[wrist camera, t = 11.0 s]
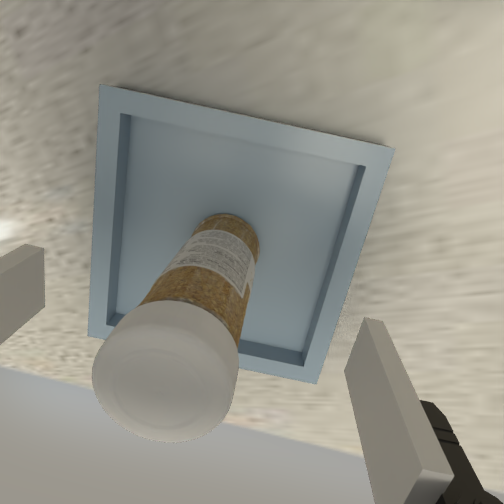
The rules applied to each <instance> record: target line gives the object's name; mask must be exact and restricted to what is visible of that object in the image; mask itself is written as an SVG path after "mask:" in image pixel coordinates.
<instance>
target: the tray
mask: <svg viewBox="0 0 504 504" xmlns="http://www.w3.org/2000/svg"><path fill="white" fill-rule="evenodd" d="M394 152H395V149H394V148H391V147H388V146H385V145H380V144H376V143H371V142H367V141H362V140H358V139H353V138H348V137H344V136H339V135H335V134H330V133H326V132H321V131H316V130H312V129H307V128H303V127H298V126H294V125H289V124H284V123H280V122H275V121H271V120H266V119H262V118H257V117H252V116H248V115H243V114H239V113H234V112H230V111H225V110H221V109H216V108H211V107H207V106H202V105H198V104H193V103H189V102H184V101H179V100H175V99H170V98H166V97H161V96H157V95H152V94H147V93H143V92H138V91H134V90H129V89H125V88H120V87H115V86H109V85H102V84H100V88H99V109H98V130H97V151H96V172H95V193H94V214H93V235H92V256H91V277H90V298H89V318H88V336H90V337H94V338H99V339H104V340H106V339H107V337H108V336H109V335H110V333H111V332H112V331H113V329H114V328H115V327H116V325H117V324H118V323H119V322H120V320H121V319H122V318H123V317H124V316H125V315H126V314H127V313H129V312H130V311H131V310H133V309H135V308H136V307H137V306H138V305H139V304H140V303H141V302H142V301H143V299H144V298H145V297H146V295H147V294H148V293H149V291H150V289H151V287H152V285H153V284H154V282H155V281H156V279H157V278H158V277H159V276H160V274H161V273H162V272H163V271H164V270H165V268H166V267H167V266H168V264H169V263H170V262H171V260H172V259H173V258H174V257H175V255H176V254H177V253H178V252H179V250H180V249H181V248H182V246H183V245H184V244H185V243H186V241H188V240H189V239H190V238H191V237H192V234H193V232H194V230H195V228H196V227H197V226H198V225H199V224H200V223H201V222H202V221H203V220H204V219H206V218H208V217H210V216H213V215H217V214H229V215H234V216H237V217H239V218H241V219H242V220H244V221H245V222H246V223H248V224H249V225H250V226H251V227H252V229H253V230H254V231H255V233H256V235H257V238H258V241H259V248H260V253H259V258H258V261H257V263H256V265H255V275H254V280H253V286H252V290H251V295H250V299H249V302H248V304H247V308H246V315H245V318H244V323H243V327H242V332H241V337H240V340H239V344H238V349H237V350H238V356H239V368H241V369H246V370H250V371H255V372H260V373H264V374H269V375H274V376H279V377H283V378H288V379H293V380H298V381H302V382H307V383H312V384H317V381H318V378H319V375H320V372H321V369H322V366H323V363H324V360H325V357H326V354H327V351H328V348H329V345H330V342H331V339H332V336H333V333H334V330H335V327H336V324H337V321H338V318H339V315H340V313H341V310H342V307H343V304H344V301H345V298H346V295H347V292H348V289H349V286H350V283H351V280H352V277H353V274H354V271H355V268H356V265H357V262H358V259H359V256H360V253H361V250H362V247H363V244H364V241H365V238H366V235H367V232H368V229H369V226H370V223H371V220H372V217H373V214H374V211H375V208H376V205H377V202H378V199H379V196H380V193H381V190H382V187H383V184H384V181H385V178H386V175H387V172H388V169H389V166H390V164H391V161H392V158H393V155H394Z"/></svg>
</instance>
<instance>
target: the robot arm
mask: <svg viewBox="0 0 504 504" xmlns="http://www.w3.org/2000/svg"><path fill="white" fill-rule="evenodd" d="M44 307H45V281H44V248H41V247H37V246H32V245H28V244H24V245H22V246H20V247H19V248H17V249H15V250H13V251H11V252H10V253H8V254H6V255H4V256H2V257H0V345H1V344H2V343H3V342H4V341H5V340H7V339H8V338H9V337H10V336H11V335H12V334H14V333H15V332H16V331H17V330H18V329H19V328H21V327H22V326H23V325H24V324H25V323H26V322H27V321H29V320H30V319H31V318H32V317H33V316H34V315H36V314H37V313H38V312H39V311H40V310H41V309H43V308H44ZM344 372H345V376H346V381H347V385H348V389H349V394H350V398H351V402H352V406H353V411H354V415H355V419H356V424H357V428H358V432H359V437H360V441H361V445H362V449H363V454H364V458H365V462H366V467H367V471H368V475H369V479H370V484H371V488H372V492H373V497H374V501H375V504H503V503H502V502H501V501H500V500H499V499H497V498H496V497H495V496H493V495H491V494H489V493H488V492H486V491H484V489H483V487H482V485H481V483H480V481H479V480H478V478H477V476H476V474H475V472H474V470H473V468H472V466H471V464H470V462H469V460H468V459H467V457H466V455H465V453H464V451H463V449H462V447H461V446H459V441H458V439H457V437H456V436H455V434H453V430H452V428H451V426H450V424H449V422H448V420H447V418H446V416H445V415H444V414H443V413H442V412H441V411H440V410H439V409H438V408H437V407H436V406H435V405H434V403H431V402H427V401H422V400H419V398H418V396H417V394H416V392H415V389H414V387H413V385H412V383H411V381H410V379H409V376H408V374H407V372H406V370H405V368H404V366H403V364H402V361H401V359H400V357H399V355H398V353H397V351H396V348H395V346H394V344H393V342H392V340H391V338H390V335H389V333H388V331H387V329H386V327H385V325H384V322H383V321H379V320H375V319H370V318H365V317H364V320H363V322H362V325H361V327H360V330H359V333H358V335H357V338H356V341H355V343H354V346H353V349H352V351H351V354H350V357H349V359H348V362H347V365H346V367H345V370H344Z"/></svg>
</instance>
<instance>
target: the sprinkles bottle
mask: <svg viewBox="0 0 504 504" xmlns="http://www.w3.org/2000/svg"><path fill="white" fill-rule="evenodd" d="M259 253H260V248H259V241H258V238H257V235H256V233H255V231H254V230H253V229H252V227H251V226H250V225H249V224H248V223H246V222H245V221H244V220H242V219H241V218H239V217H237V216H234V215H229V214H217V215H213V216H210V217H208V218H206V219H204V220H203V221H202V222H201V223H200V224H199V225H198V226H197V227H196V228H195V230H194V232H193V234H192V237H191V238H190V239H189V240H188V241H186V243H185V244H184V245H183V246H182V248H181V249H180V250H179V252H178V253H177V254H176V255H175V257H174V258H173V259H172V260H171V262H170V263H169V264H168V266H167V267H166V268H165V270H164V271H163V272H162V273H161V274H160V276H159V277H158V278H157V279H156V281H155V282H154V284H153V285H152V287H151V289H150V291H149V293H148V294H147V295H146V297H145V298H144V299H143V301H142V302H141V303H140V304H139V305H138V306H137V307H136V308H135V309H133V310H131V311H130V312H129V313H127V314H126V315H125V316H124V317H123V318H122V319H121V320H120V322H119V323H118V324H117V325H116V327H115V328H114V329H113V331H112V332H111V333H110V335H109V336H108V337H107V339H106V340H105V342H104V343H103V345H102V346H101V347H100V349H99V351H98V353H97V355H96V357H95V360H94V363H93V368H92V383H93V388H94V391H95V394H96V396H97V399H98V401H99V403H100V404H101V406H102V407H103V409H104V410H105V412H106V413H107V414H108V415H109V416H110V417H111V418H112V419H113V420H114V421H115V422H116V423H117V424H119V425H120V426H122V427H123V428H124V429H126V430H128V431H129V432H131V433H133V434H135V435H137V436H140V437H142V438H145V439H149V440H153V441H159V442H168V443H175V442H184V441H189V440H193V439H196V438H199V437H201V436H204V435H205V434H207V433H209V432H210V431H212V430H213V429H214V428H215V427H216V426H218V425H219V424H220V423H221V421H222V420H223V419H224V418H225V416H226V414H227V412H228V411H229V409H230V406H231V403H232V399H233V395H234V390H235V386H236V381H237V375H238V369H239V356H238V350H237V349H238V344H239V340H240V337H241V332H242V327H243V323H244V318H245V315H246V308H247V304H248V302H249V299H250V295H251V290H252V286H253V280H254V275H255V265H256V263H257V261H258V258H259Z"/></svg>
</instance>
